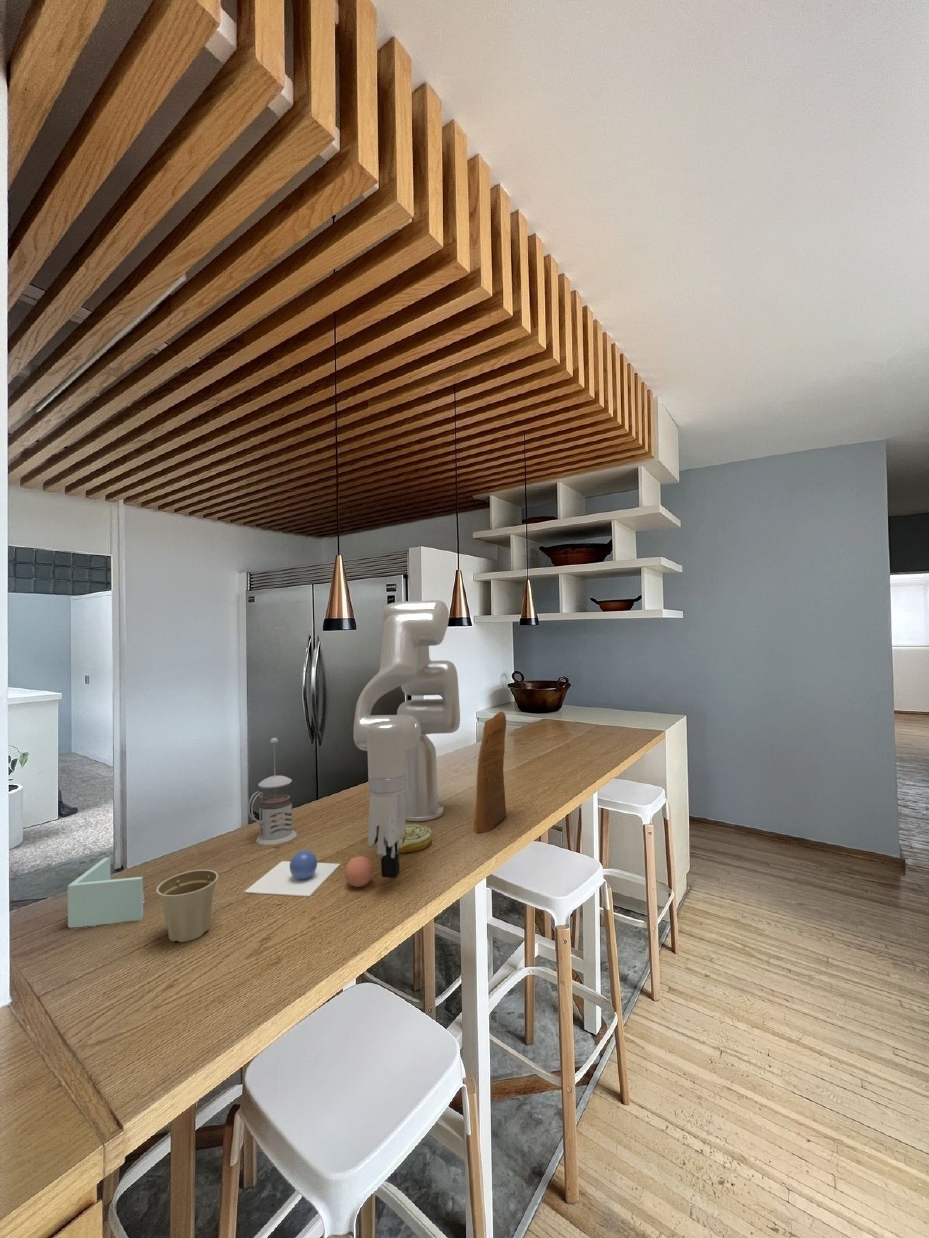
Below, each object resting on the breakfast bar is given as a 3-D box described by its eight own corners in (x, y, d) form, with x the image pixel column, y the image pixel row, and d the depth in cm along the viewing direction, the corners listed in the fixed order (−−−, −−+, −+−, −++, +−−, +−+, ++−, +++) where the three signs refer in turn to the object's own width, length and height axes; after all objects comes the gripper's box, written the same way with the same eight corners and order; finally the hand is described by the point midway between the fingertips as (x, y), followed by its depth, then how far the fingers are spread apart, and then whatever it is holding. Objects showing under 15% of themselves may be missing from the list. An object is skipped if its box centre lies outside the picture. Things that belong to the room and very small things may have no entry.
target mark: (282, 861, 116) (281, 861, 116) (340, 864, 114) (340, 863, 114) (244, 892, 102) (244, 891, 102) (309, 896, 100) (309, 895, 100)
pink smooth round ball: (376, 851, 106) (373, 875, 107) (349, 849, 106) (347, 872, 107) (371, 869, 101) (369, 894, 102) (343, 867, 100) (341, 891, 101)
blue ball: (324, 850, 110) (318, 875, 110) (301, 842, 111) (296, 867, 111) (311, 861, 104) (305, 888, 105) (287, 853, 106) (281, 879, 106)
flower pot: (176, 955, 82) (175, 900, 83) (146, 939, 87) (145, 887, 88) (230, 926, 90) (229, 876, 91) (199, 913, 95) (198, 865, 96)
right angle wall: (141, 921, 93) (140, 878, 94) (68, 929, 92) (67, 885, 92) (169, 889, 105) (168, 851, 106) (105, 895, 104) (104, 857, 104)
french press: (304, 835, 132) (301, 736, 133) (260, 850, 123) (257, 744, 124) (285, 826, 138) (282, 732, 139) (241, 840, 130) (239, 740, 131)
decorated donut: (378, 846, 124) (377, 830, 124) (416, 833, 130) (415, 818, 131) (401, 859, 116) (400, 842, 116) (440, 845, 122) (439, 829, 122)
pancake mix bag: (518, 812, 142) (513, 710, 143) (490, 838, 125) (485, 721, 126) (495, 809, 145) (491, 709, 146) (465, 834, 128) (460, 720, 129)
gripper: (382, 773, 113) (385, 858, 112) (355, 794, 98) (358, 893, 97) (415, 773, 111) (419, 860, 111) (393, 795, 97) (396, 895, 96)
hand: (390, 875), depth 104 cm, fingers closed
